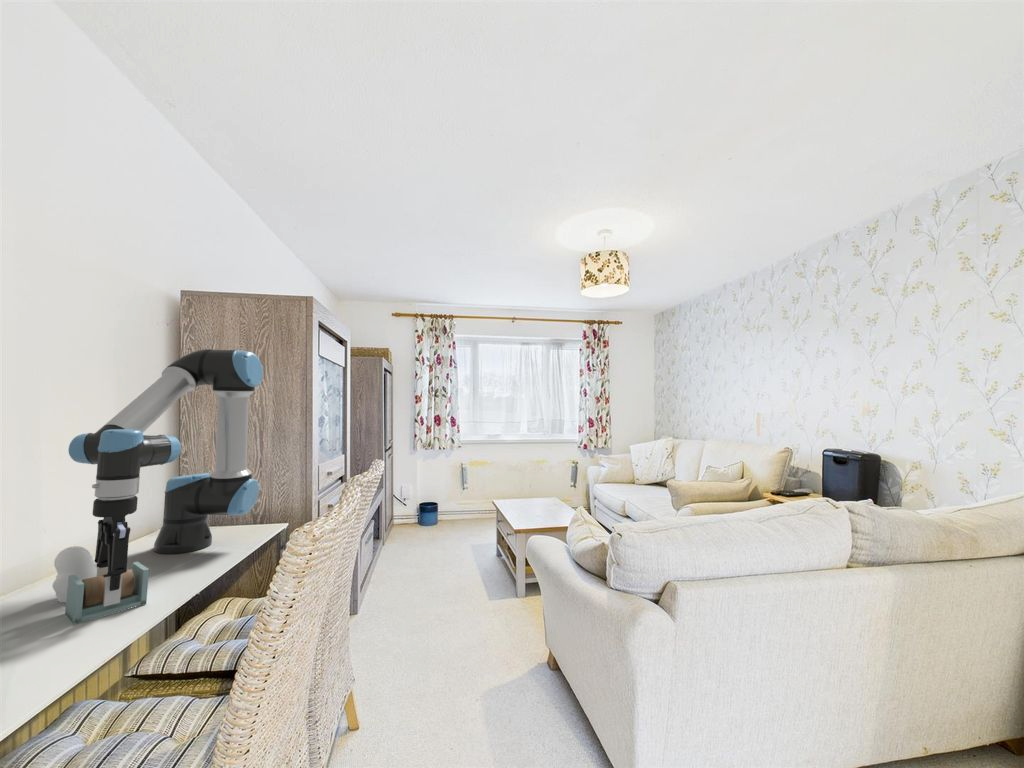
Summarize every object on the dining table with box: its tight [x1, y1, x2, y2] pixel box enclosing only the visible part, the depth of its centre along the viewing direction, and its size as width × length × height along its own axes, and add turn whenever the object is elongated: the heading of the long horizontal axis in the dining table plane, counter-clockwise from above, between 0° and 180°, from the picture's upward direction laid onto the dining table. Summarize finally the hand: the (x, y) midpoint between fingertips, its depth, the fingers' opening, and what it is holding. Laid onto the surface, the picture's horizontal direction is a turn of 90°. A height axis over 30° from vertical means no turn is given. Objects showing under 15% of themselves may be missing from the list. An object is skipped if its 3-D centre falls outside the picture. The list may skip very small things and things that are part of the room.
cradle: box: [64, 561, 150, 625], centre depth 99 cm, size 12×8×8 cm, turn 146°
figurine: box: [52, 546, 97, 603], centre depth 104 cm, size 7×8×12 cm
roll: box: [82, 568, 134, 608], centre depth 98 cm, size 8×6×6 cm
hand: (107, 599), depth 98 cm, fingers closed on roll, 6 cm apart
